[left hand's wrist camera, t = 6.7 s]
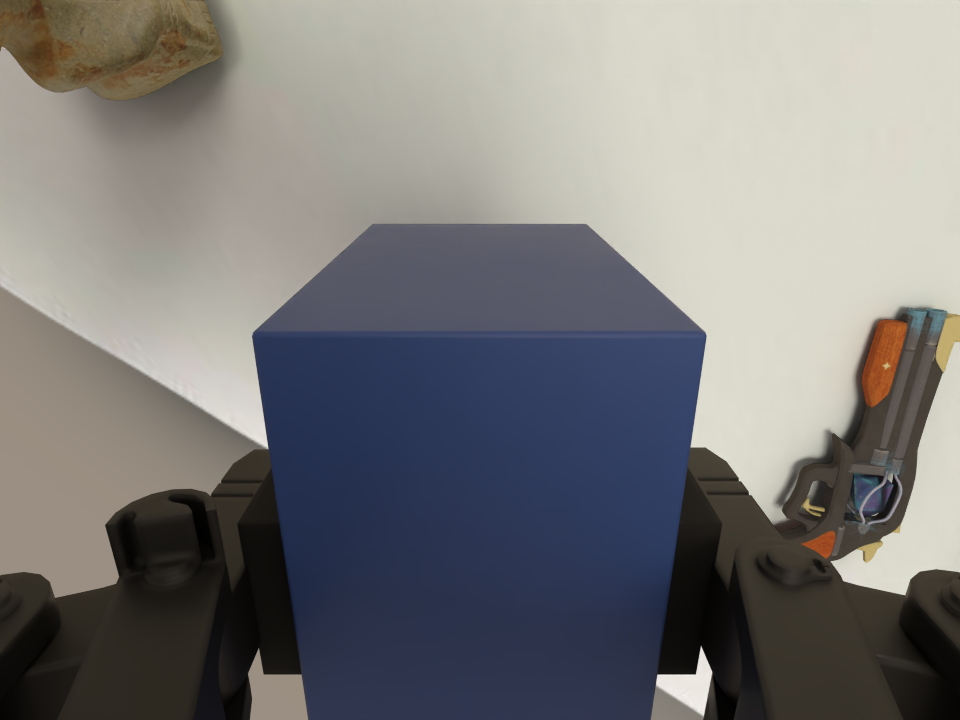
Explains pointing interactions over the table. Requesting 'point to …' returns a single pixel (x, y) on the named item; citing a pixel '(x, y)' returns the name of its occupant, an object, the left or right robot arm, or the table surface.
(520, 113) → the table surface
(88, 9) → the sculpture
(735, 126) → the table surface
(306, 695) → the brick
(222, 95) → the table surface
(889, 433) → the toy gun
